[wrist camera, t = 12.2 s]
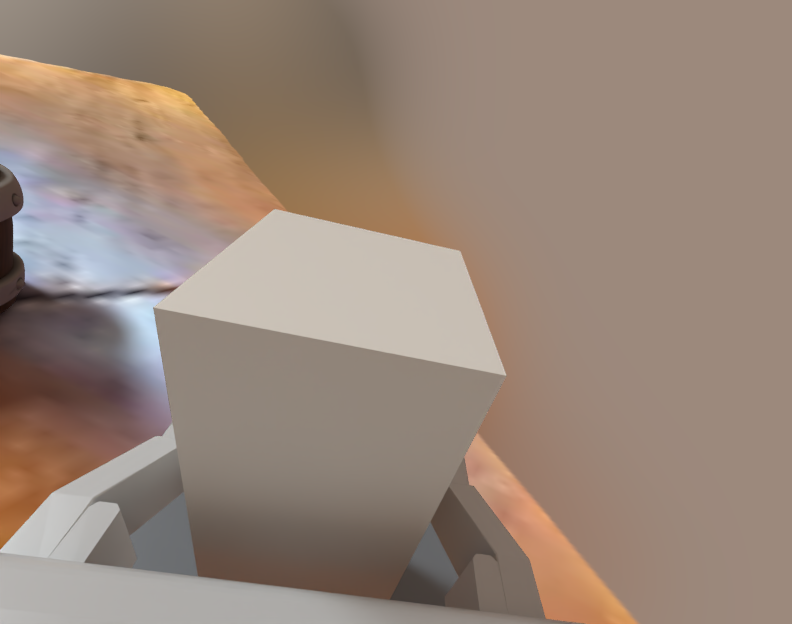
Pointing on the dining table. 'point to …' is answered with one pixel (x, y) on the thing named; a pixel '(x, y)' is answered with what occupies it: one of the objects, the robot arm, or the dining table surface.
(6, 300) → the flowerpot
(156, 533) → the block
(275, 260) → the block
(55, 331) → the dining table surface
